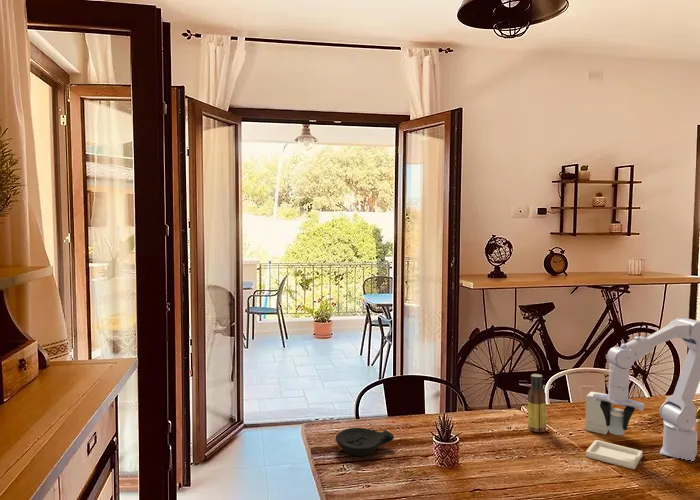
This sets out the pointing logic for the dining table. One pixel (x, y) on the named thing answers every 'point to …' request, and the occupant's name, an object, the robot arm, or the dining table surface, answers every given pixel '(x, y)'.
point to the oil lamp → (362, 440)
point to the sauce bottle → (536, 405)
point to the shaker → (616, 421)
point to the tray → (614, 454)
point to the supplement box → (595, 415)
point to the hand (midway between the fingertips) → (616, 427)
